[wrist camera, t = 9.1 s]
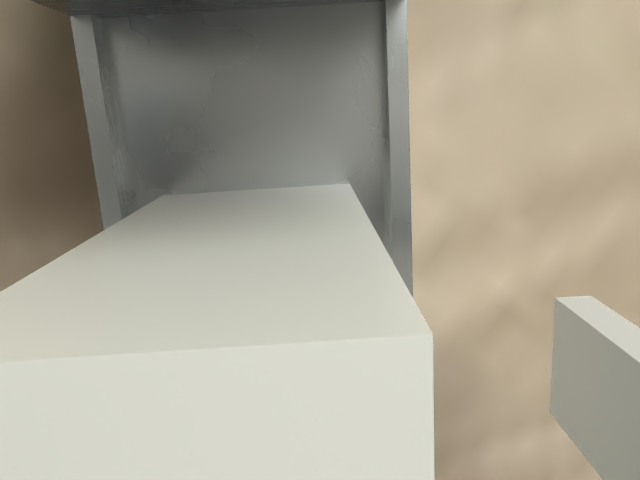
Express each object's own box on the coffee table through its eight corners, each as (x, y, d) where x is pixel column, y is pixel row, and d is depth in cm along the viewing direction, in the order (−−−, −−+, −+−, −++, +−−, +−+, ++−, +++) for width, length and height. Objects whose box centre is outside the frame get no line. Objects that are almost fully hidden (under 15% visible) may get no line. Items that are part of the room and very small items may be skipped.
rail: (180, 610, 19) (29, 1201, 9) (73, -104, 14) (-626, -736, 3) (411, 595, 19) (532, 1164, 9) (394, -124, 14) (643, -798, 3)
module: (191, 428, 16) (15, 908, 6) (161, 195, 15) (-137, 371, 5) (362, 416, 16) (444, 879, 6) (351, 183, 15) (438, 333, 5)
